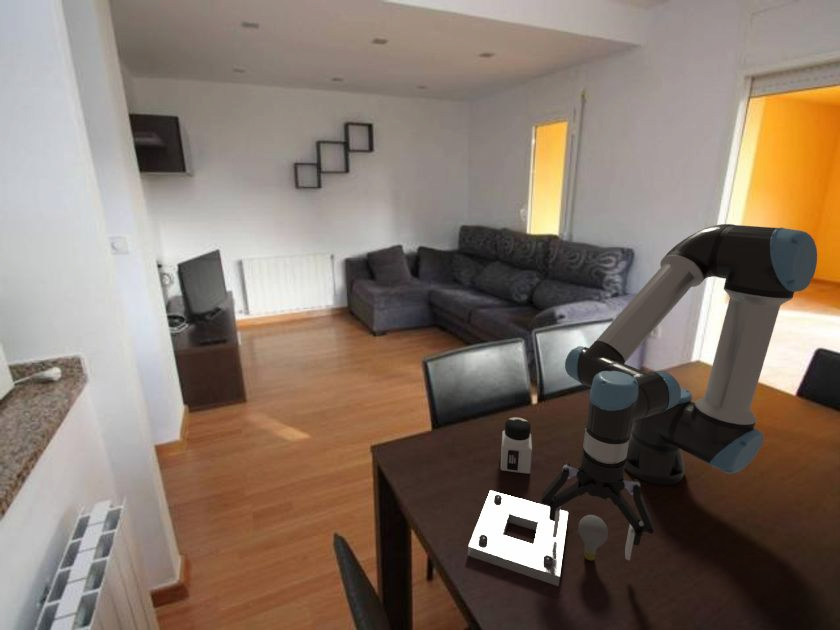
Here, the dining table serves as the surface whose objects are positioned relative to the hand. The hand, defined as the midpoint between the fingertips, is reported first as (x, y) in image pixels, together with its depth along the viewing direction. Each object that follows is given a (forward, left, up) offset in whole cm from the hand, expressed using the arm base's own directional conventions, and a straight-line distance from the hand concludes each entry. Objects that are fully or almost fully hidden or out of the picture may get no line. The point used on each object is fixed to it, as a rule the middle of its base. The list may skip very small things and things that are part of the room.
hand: (590, 543), depth 86 cm
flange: (+14, 0, -4) cm, 14 cm away
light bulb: (0, 0, -4) cm, 4 cm away
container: (+20, -25, -4) cm, 32 cm away
